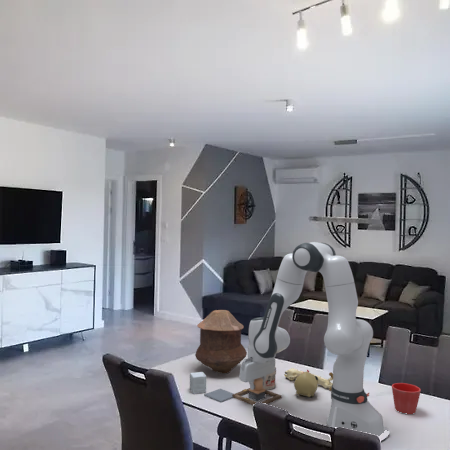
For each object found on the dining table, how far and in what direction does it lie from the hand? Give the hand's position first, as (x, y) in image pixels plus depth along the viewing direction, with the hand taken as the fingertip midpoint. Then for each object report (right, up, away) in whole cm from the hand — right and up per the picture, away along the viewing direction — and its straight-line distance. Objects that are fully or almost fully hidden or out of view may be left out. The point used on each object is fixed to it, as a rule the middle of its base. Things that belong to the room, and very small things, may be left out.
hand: (257, 387), depth 200 cm
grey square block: (0, -5, 0) cm, 5 cm away
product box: (-26, -4, +6) cm, 27 cm away
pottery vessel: (-16, -4, +34) cm, 38 cm away
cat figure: (+25, -5, +19) cm, 32 cm away
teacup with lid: (+6, -5, +15) cm, 17 cm away
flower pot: (+60, -7, -9) cm, 61 cm away
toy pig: (+22, -5, +4) cm, 23 cm away
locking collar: (0, -5, 0) cm, 5 cm away
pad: (-16, -4, +1) cm, 16 cm away
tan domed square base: (0, -2, 0) cm, 2 cm away
